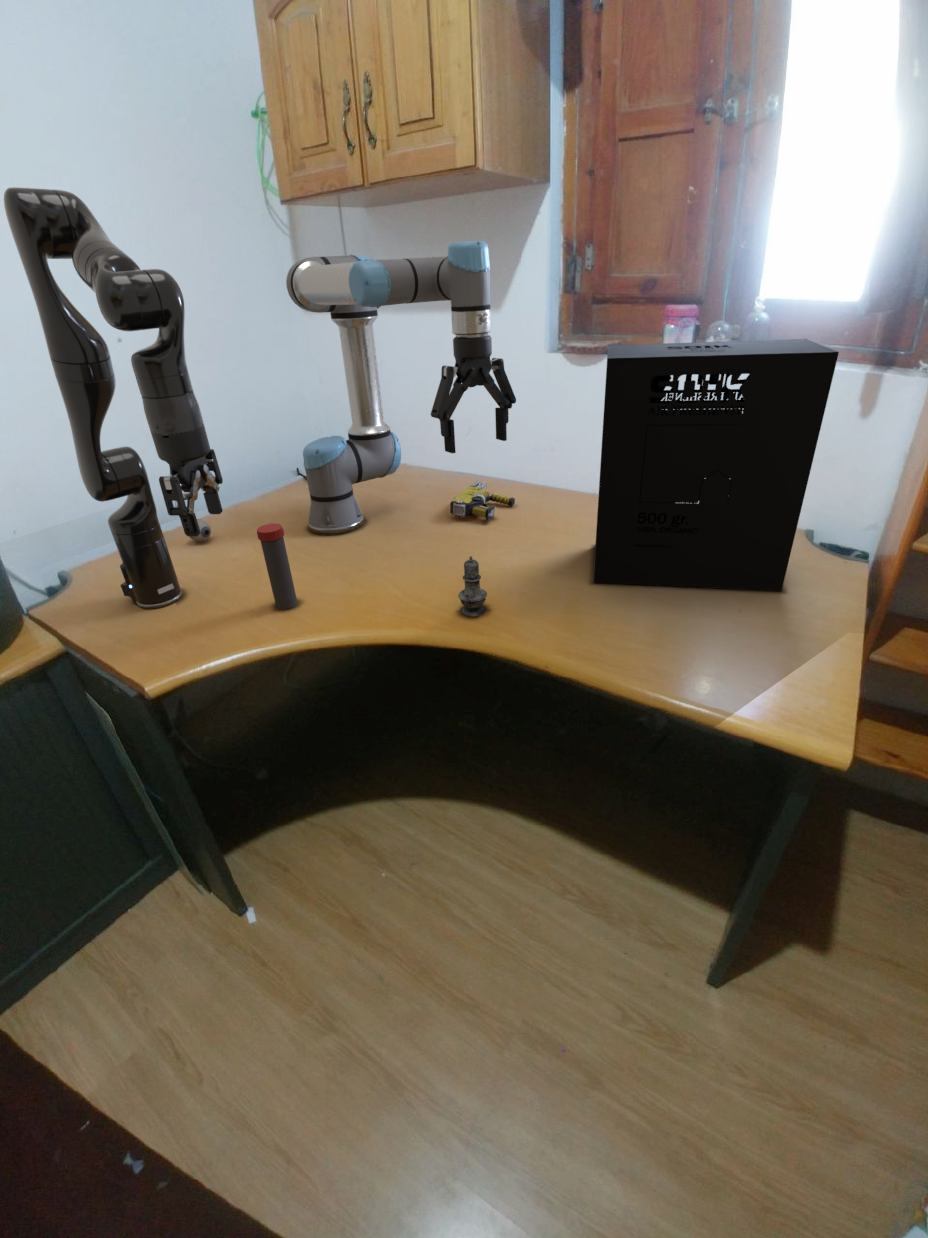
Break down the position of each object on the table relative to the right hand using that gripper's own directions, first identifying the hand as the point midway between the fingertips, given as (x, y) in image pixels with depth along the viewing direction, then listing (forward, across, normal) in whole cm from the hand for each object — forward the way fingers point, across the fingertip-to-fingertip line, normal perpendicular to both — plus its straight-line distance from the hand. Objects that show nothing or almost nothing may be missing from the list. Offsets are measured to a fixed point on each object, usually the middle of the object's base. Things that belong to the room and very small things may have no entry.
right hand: (476, 445), depth 127 cm
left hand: (+2, -57, -1) cm, 57 cm away
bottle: (+28, -43, +13) cm, 53 cm away
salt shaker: (+28, -14, -16) cm, 35 cm away
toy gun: (+28, +26, +30) cm, 49 cm away
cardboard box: (+28, +33, -31) cm, 53 cm away
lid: (+11, -43, +13) cm, 46 cm away
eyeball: (+28, -46, +64) cm, 84 cm away
